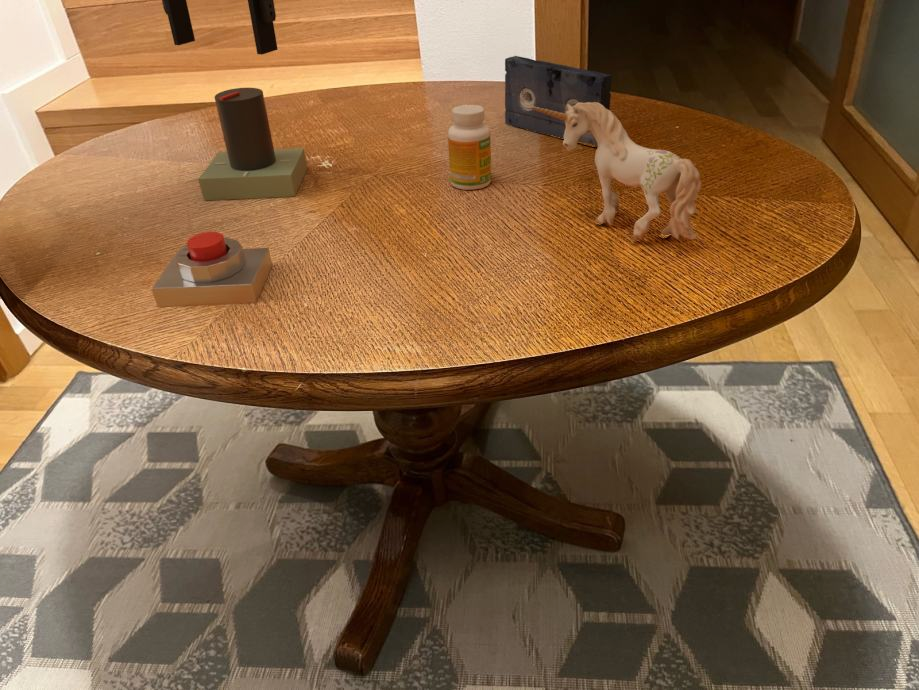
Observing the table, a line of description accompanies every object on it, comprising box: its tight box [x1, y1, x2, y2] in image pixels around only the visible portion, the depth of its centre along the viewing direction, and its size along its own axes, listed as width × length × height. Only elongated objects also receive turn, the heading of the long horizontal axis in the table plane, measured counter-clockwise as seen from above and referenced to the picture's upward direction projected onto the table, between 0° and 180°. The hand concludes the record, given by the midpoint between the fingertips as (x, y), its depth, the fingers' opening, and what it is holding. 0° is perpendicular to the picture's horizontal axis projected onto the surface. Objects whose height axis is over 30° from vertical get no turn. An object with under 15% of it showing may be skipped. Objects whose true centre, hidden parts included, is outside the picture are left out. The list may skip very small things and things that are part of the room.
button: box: [186, 231, 227, 261], centre depth 74 cm, size 4×4×2 cm
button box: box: [151, 236, 273, 308], centre depth 75 cm, size 10×8×4 cm
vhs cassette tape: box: [504, 55, 613, 146], centre depth 108 cm, size 18×3×10 cm, turn 42°
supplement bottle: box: [447, 104, 492, 191], centre depth 94 cm, size 5×5×10 cm
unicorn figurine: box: [531, 102, 702, 242], centre depth 80 cm, size 7×20×13 cm, turn 56°
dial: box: [214, 87, 276, 171], centre depth 95 cm, size 6×6×9 cm
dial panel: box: [197, 147, 308, 201], centre depth 99 cm, size 12×10×3 cm
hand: (225, 47), depth 89 cm, fingers open, 13 cm apart
